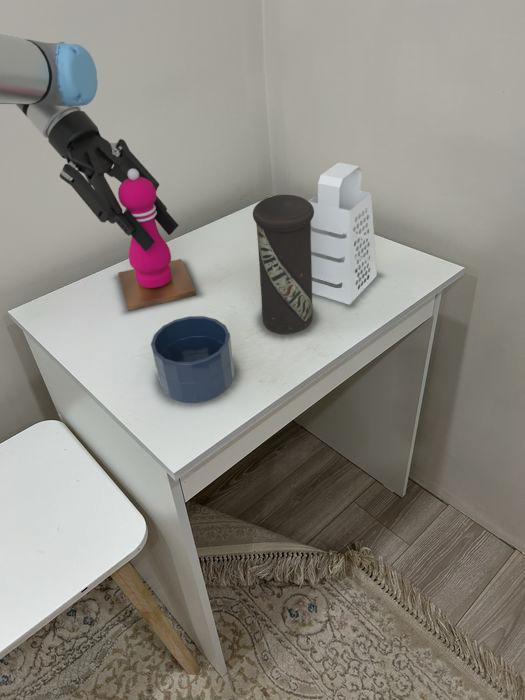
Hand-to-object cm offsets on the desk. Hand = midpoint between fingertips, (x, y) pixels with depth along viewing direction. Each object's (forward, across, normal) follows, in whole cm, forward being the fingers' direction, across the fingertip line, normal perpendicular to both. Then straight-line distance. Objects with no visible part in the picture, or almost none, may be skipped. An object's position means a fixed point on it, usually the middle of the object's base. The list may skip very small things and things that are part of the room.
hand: (162, 238), depth 90 cm
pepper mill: (+4, 0, -9) cm, 10 cm away
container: (+23, -2, +8) cm, 25 cm away
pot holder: (+5, 0, -10) cm, 11 cm away
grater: (+25, -15, +10) cm, 31 cm away
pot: (+20, +16, +5) cm, 26 cm away
